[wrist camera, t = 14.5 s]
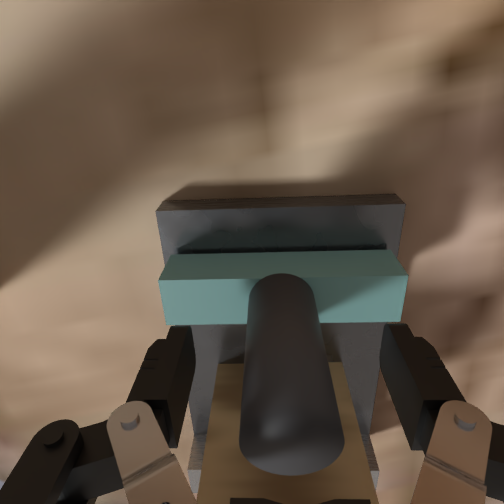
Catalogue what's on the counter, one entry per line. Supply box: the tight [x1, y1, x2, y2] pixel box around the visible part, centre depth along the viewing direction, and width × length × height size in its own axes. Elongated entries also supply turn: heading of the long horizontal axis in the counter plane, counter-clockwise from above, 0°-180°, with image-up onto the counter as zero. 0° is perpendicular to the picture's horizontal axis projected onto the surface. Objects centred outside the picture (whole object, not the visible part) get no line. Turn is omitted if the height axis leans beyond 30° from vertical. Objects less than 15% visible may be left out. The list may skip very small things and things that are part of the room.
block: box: [196, 362, 379, 504], centre depth 20 cm, size 8×5×8 cm, turn 93°
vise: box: [156, 194, 406, 493], centre depth 21 cm, size 12×19×4 cm, turn 2°
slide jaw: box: [158, 250, 408, 476], centre depth 15 cm, size 11×3×10 cm, turn 92°
